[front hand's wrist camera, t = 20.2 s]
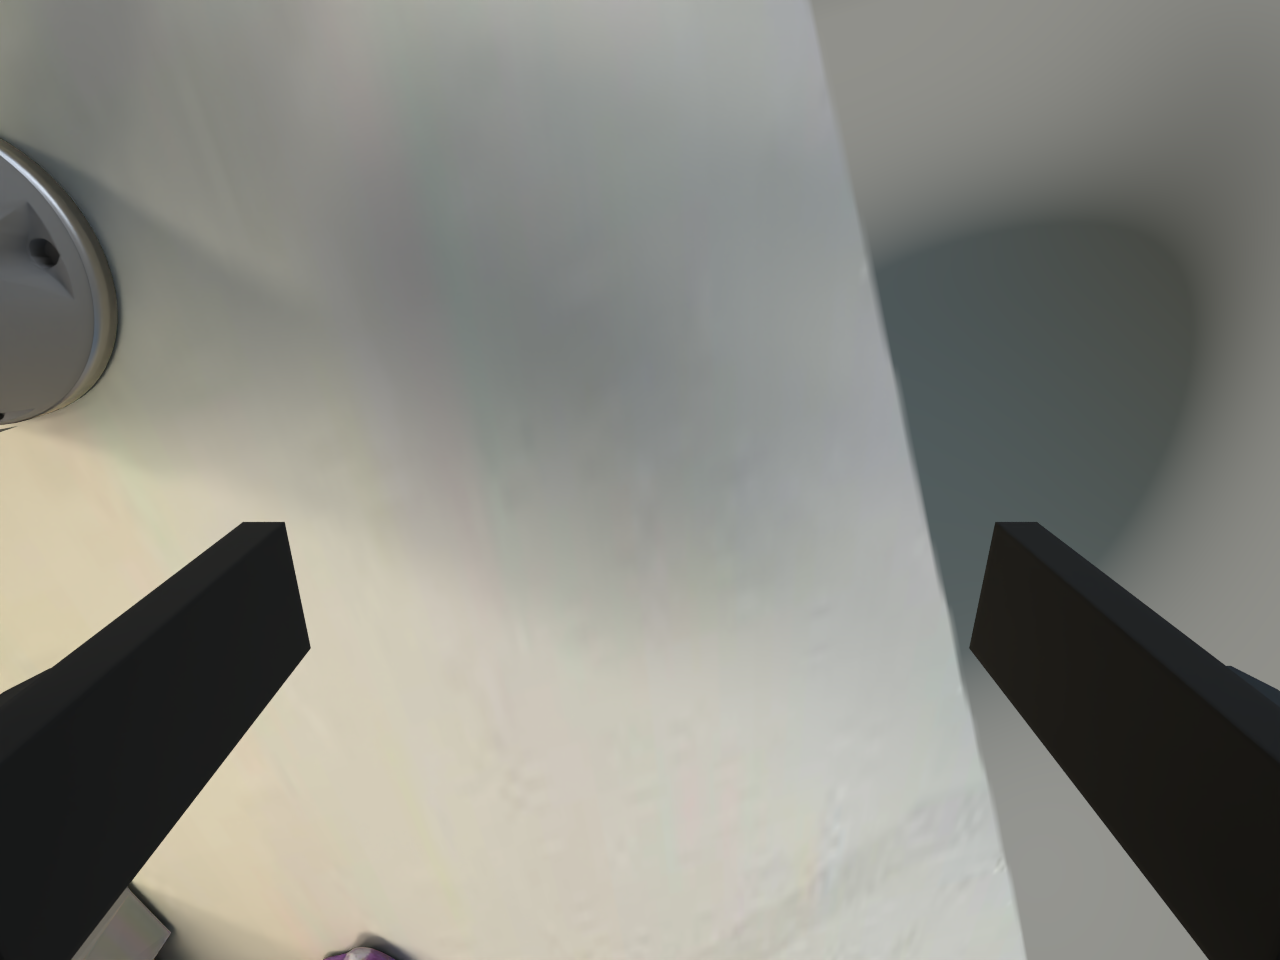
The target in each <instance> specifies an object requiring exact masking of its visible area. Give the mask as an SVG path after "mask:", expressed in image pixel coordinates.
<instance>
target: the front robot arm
mask: <svg viewBox="0 0 1280 960" xmlns="http://www.w3.org/2000/svg"><path fill="white" fill-rule="evenodd" d="M116 332H117V301H116V293H115V288H114V283H113V279H112V275H111V272H110V269H109V265H108V262H107V260H106V257H105V255H104V252H103V250H102V247H101V245H100V243H99V241H98V239H97V237H96V235H95V233H94V232H93V230H92V228H91V227H90V225H89V223H88V222H87V220H86V218H85V217H84V215H83V214H82V213H81V211H80V210H79V208H78V207H77V206H76V204H75V203H74V202H73V200H72V199H71V198H70V197H69V196H68V194H67V193H66V192H65V191H64V190H63V188H62V187H61V186H60V185H59V184H58V183H57V182H56V181H55V180H54V179H53V178H52V177H51V176H50V175H49V174H48V173H47V172H46V171H45V170H43V169H42V168H41V167H40V166H39V165H38V164H37V163H35V162H34V161H33V160H32V159H30V158H29V157H28V156H26V155H25V154H24V153H23V152H21V151H20V150H18V149H17V148H15V147H14V146H12V145H11V144H9V143H8V142H6V141H4V140H2V139H1V138H0V425H4V424H11V423H17V422H21V421H25V420H29V419H32V418H35V417H38V416H41V415H44V414H47V413H50V412H53V411H56V410H58V409H61V408H63V407H65V406H67V405H69V404H71V403H73V402H74V401H76V400H77V399H78V398H80V397H81V396H83V395H84V394H85V393H86V392H87V391H88V390H89V389H90V388H91V387H92V386H93V385H94V384H95V383H96V381H97V380H98V379H99V377H100V376H101V374H102V373H103V371H104V370H105V368H106V366H107V363H108V361H109V359H110V357H111V354H112V350H113V347H114V343H115V338H116ZM16 427H17V426H16ZM11 428H14V427H11ZM11 428H6V429H1V430H0V432H2V431H5V430H8V429H11ZM310 648H311V647H310V642H309V638H308V633H307V628H306V623H305V618H304V613H303V609H302V604H301V599H300V594H299V589H298V584H297V580H296V575H295V570H294V565H293V560H292V555H291V551H290V546H289V541H288V536H287V531H286V526H285V522H243V523H241V524H240V525H239V526H237V527H236V528H235V529H233V530H232V531H231V532H229V533H228V534H227V535H226V536H224V537H223V538H222V539H220V540H219V541H218V542H216V543H215V544H214V545H212V546H211V547H210V548H208V549H207V550H206V551H205V552H203V553H202V554H201V555H199V556H198V557H197V558H195V559H194V560H193V561H191V562H190V563H189V564H187V565H186V566H185V567H183V568H182V569H181V570H180V571H178V572H177V573H176V574H174V575H173V576H172V577H170V578H169V579H168V580H166V581H165V582H164V583H162V584H161V585H160V586H159V587H157V588H156V589H155V590H153V591H152V592H151V593H149V594H148V595H147V596H145V597H144V598H143V599H141V600H140V601H139V602H138V603H136V604H135V605H134V606H132V607H131V608H130V609H128V610H127V611H126V612H124V613H123V614H122V615H120V616H119V617H118V618H116V619H115V620H114V621H113V622H111V623H110V624H109V625H107V626H106V627H105V628H103V629H102V630H101V631H99V632H98V633H97V634H95V635H94V636H93V637H92V638H90V639H89V640H88V641H86V642H85V643H84V644H82V645H81V646H80V647H78V648H77V649H76V650H74V651H73V652H72V653H71V654H69V655H68V656H67V657H65V658H64V659H63V660H61V661H60V662H59V663H57V664H56V665H55V666H53V667H52V668H50V669H48V670H46V671H44V672H42V673H40V674H38V675H36V676H34V677H32V678H30V679H28V680H26V681H24V682H22V683H20V684H18V685H16V686H14V687H12V688H11V689H9V690H7V691H5V692H3V693H2V694H0V960H71V959H72V958H73V957H74V955H75V954H76V953H77V951H78V950H79V949H80V947H81V946H82V945H83V944H84V942H85V941H86V940H87V938H88V937H89V936H90V934H91V933H92V932H93V931H94V929H95V928H96V927H97V925H98V924H99V923H100V921H101V920H102V919H103V918H104V916H105V915H106V914H107V912H108V911H109V910H110V908H111V907H112V906H113V905H114V903H115V902H116V901H117V899H118V898H119V897H120V895H121V894H122V893H123V892H124V890H125V889H126V888H127V886H128V885H129V884H130V882H131V881H132V880H133V879H134V877H135V876H136V875H137V873H138V872H139V871H140V869H141V868H142V867H143V866H144V864H145V863H146V862H147V860H148V859H149V858H150V856H151V855H152V854H153V853H154V851H155V850H156V849H157V847H158V846H159V845H160V843H161V842H162V841H163V840H164V838H165V837H166V836H167V834H168V833H169V832H170V830H171V829H172V828H173V827H174V825H175V824H176V823H177V821H178V820H179V819H180V817H181V816H182V815H183V814H184V812H185V811H186V810H187V808H188V807H189V806H190V804H191V803H192V802H193V801H194V799H195V798H196V797H197V795H198V794H199V793H200V791H201V790H202V789H203V788H204V786H205V785H206V784H207V782H208V781H209V780H210V778H211V777H212V776H213V775H214V773H215V772H216V771H217V769H218V768H219V767H220V765H221V764H222V763H223V762H224V760H225V759H226V758H227V756H228V755H229V754H230V752H231V751H232V750H233V749H234V747H235V746H236V745H237V743H238V742H239V741H240V739H241V738H242V737H243V735H244V734H245V733H246V732H247V730H248V729H249V728H250V726H251V725H252V724H253V722H254V721H255V720H256V719H257V717H258V716H259V715H260V713H261V712H262V711H263V709H264V708H265V707H266V706H267V704H268V703H269V702H270V700H271V699H272V698H273V696H274V695H275V694H276V693H277V691H278V690H279V689H280V687H281V686H282V685H283V683H284V682H285V681H286V680H287V678H288V677H289V676H290V674H291V673H292V672H293V670H294V669H295V668H296V667H297V665H298V664H299V663H300V661H301V660H302V659H303V657H304V656H305V655H306V654H307V652H308V651H309V650H310ZM969 648H970V650H971V651H972V652H973V654H974V655H975V656H976V657H977V659H978V660H979V661H980V663H981V664H982V665H983V667H984V668H985V669H986V670H987V672H988V673H989V674H990V676H991V677H992V678H993V680H994V681H995V682H996V683H997V685H998V686H999V687H1000V689H1001V690H1002V691H1003V693H1004V694H1005V695H1006V696H1007V698H1008V699H1009V700H1010V702H1011V703H1012V704H1013V706H1014V707H1015V708H1016V709H1017V711H1018V712H1019V713H1020V715H1021V716H1022V717H1023V719H1024V720H1025V721H1026V722H1027V724H1028V725H1029V726H1030V728H1031V729H1032V730H1033V732H1034V733H1035V734H1036V735H1037V737H1038V738H1039V739H1040V741H1041V742H1042V743H1043V745H1044V746H1045V747H1046V748H1047V750H1048V751H1049V752H1050V754H1051V755H1052V756H1053V758H1054V759H1055V760H1056V761H1057V763H1058V764H1059V765H1060V767H1061V768H1062V769H1063V771H1064V772H1065V773H1066V775H1067V776H1068V777H1069V778H1070V780H1071V781H1072V782H1073V784H1074V785H1075V786H1076V788H1077V789H1078V790H1079V791H1080V793H1081V794H1082V795H1083V797H1084V798H1085V799H1086V800H1087V802H1088V803H1089V804H1090V806H1091V807H1092V808H1093V810H1094V811H1095V812H1096V813H1097V815H1098V816H1099V817H1100V819H1101V820H1102V821H1103V823H1104V824H1105V825H1106V826H1107V828H1108V829H1109V830H1110V832H1111V833H1112V834H1113V836H1114V837H1115V838H1116V840H1117V841H1118V842H1119V843H1120V845H1121V846H1122V847H1123V849H1124V850H1125V851H1126V853H1127V854H1128V855H1129V856H1130V858H1131V859H1132V860H1133V862H1134V863H1135V864H1136V866H1137V867H1138V868H1139V869H1140V871H1141V872H1142V873H1143V875H1144V876H1145V877H1146V879H1147V880H1148V881H1149V882H1150V884H1151V885H1152V886H1153V888H1154V889H1155V890H1156V891H1157V893H1158V894H1159V895H1160V897H1161V898H1162V899H1163V901H1164V902H1165V903H1166V905H1167V906H1168V907H1169V908H1170V910H1171V911H1172V912H1173V914H1174V915H1175V916H1176V917H1177V919H1178V920H1179V921H1180V923H1181V924H1182V925H1183V927H1184V928H1185V929H1186V930H1187V932H1188V933H1189V934H1190V936H1191V937H1192V938H1193V940H1194V941H1195V942H1196V944H1197V945H1198V946H1199V947H1200V949H1201V950H1202V951H1203V953H1204V954H1205V955H1206V957H1207V958H1208V959H1209V960H1280V691H1279V690H1277V689H1275V688H1273V687H1271V686H1269V685H1268V684H1266V683H1264V682H1262V681H1260V680H1258V679H1256V678H1254V677H1252V676H1250V675H1248V674H1246V673H1244V672H1242V671H1240V670H1238V669H1236V668H1234V667H1232V666H1225V665H1224V664H1223V663H1221V662H1220V661H1219V660H1217V659H1216V658H1215V657H1213V656H1212V655H1211V654H1209V653H1208V652H1207V651H1206V650H1204V649H1203V648H1202V647H1200V646H1199V645H1198V644H1196V643H1195V642H1194V641H1192V640H1191V639H1190V638H1188V637H1187V636H1186V635H1185V634H1183V633H1182V632H1181V631H1179V630H1178V629H1177V628H1175V627H1174V626H1173V625H1171V624H1170V623H1169V622H1167V621H1166V620H1165V619H1164V618H1162V617H1161V616H1160V615H1158V614H1157V613H1156V612H1154V611H1153V610H1152V609H1150V608H1149V607H1148V606H1146V605H1145V604H1144V603H1142V602H1141V601H1140V600H1139V599H1137V598H1136V597H1135V596H1133V595H1132V594H1131V593H1129V592H1128V591H1127V590H1125V589H1124V588H1123V587H1121V586H1120V585H1119V584H1118V583H1116V582H1115V581H1114V580H1112V579H1111V578H1110V577H1108V576H1107V575H1106V574H1104V573H1103V572H1102V571H1100V570H1099V569H1098V568H1097V567H1095V566H1094V565H1093V564H1091V563H1090V562H1089V561H1087V560H1086V559H1085V558H1083V557H1082V556H1081V555H1079V554H1078V553H1077V552H1075V551H1074V550H1073V549H1072V548H1070V547H1069V546H1068V545H1066V544H1065V543H1064V542H1062V541H1061V540H1060V539H1058V538H1057V537H1056V536H1054V535H1053V534H1052V533H1050V532H1049V531H1048V530H1047V529H1045V528H1044V527H1043V526H1041V525H1040V524H1039V523H1037V522H995V526H994V531H993V536H992V541H991V546H990V551H989V555H988V560H987V565H986V570H985V575H984V580H983V584H982V589H981V594H980V599H979V604H978V609H977V614H976V618H975V623H974V628H973V633H972V638H971V643H970V647H969Z"/></svg>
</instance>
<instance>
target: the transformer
mask: <svg viewBox="0 0 1280 960" xmlns="http://www.w3.org/2000/svg"><path fill="white" fill-rule="evenodd" d="M170 934H171V932H170V931H169V930H168V929H167V928H166V927H165V926H164V925H163V924H162V923H161V922H160V921H159V920H158V919H157V918H156V917H155V916H154V915H153V914H152V913H151V912H150V911H149V909H148V908H147V907H146V906H145V905H144V904H143V903H142V902H141V901H140V900H139V899H138V898H137V897H136V896H135V895H134V894H133V893H132V892H131V891H130V889H129V888H128V886H127V888H126V889H125V890H124V892H123V893H122V894H121V895H120V897H119V898H118V899H117V901H116V902H115V903H114V905H113V906H112V907H111V908H110V910H109V911H108V912H107V914H106V915H105V916H104V918H103V919H102V920H101V921H100V923H99V924H98V925H97V927H96V928H95V929H94V931H93V932H92V933H91V934H90V936H89V937H88V938H87V940H86V941H85V942H84V944H83V945H82V946H81V947H80V949H79V950H78V951H77V953H76V954H75V955H74V957H73V958H72V959H71V960H155V959H154V958H155V957H156V955H157V954H158V952H159V951H160V949H161V947H162V946H163V944H164V943H165V941H166V940H167V938H168V937H169V935H170Z"/></svg>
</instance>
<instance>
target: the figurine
mask: <svg viewBox="0 0 1280 960" xmlns="http://www.w3.org/2000/svg"><path fill="white" fill-rule="evenodd" d="M324 960H395V959H393V958H392V957H390V956H388V955H387V954H385V953H382V952H380V951H378V950H375V949H372V948H367V947H356V948H354V949H352V950H351V951H349V952H348V953H345V954H344V953H343V954H341V955H335V956H331V957H328V958H325V959H324Z"/></svg>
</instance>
